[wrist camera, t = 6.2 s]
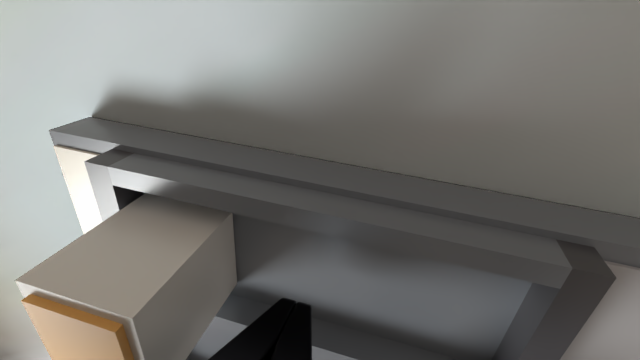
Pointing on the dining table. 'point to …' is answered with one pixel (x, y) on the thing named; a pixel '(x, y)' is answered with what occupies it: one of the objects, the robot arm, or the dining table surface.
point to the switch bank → (379, 250)
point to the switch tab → (135, 283)
